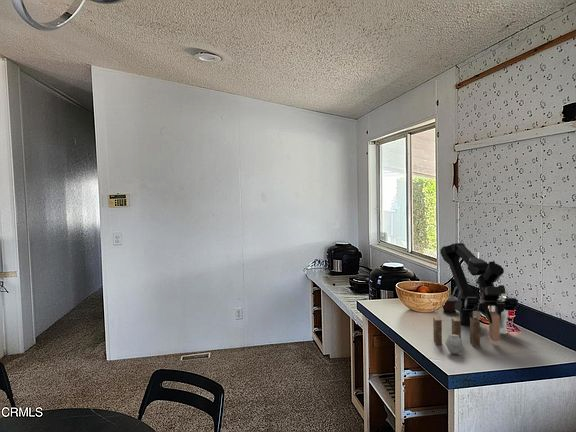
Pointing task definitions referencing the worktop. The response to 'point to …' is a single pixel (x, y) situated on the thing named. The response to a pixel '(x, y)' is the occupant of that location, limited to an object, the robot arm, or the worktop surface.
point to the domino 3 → (475, 332)
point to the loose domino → (494, 327)
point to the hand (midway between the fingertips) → (495, 323)
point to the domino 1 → (437, 330)
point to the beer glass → (503, 316)
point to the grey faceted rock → (454, 344)
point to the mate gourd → (450, 303)
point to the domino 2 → (456, 326)
